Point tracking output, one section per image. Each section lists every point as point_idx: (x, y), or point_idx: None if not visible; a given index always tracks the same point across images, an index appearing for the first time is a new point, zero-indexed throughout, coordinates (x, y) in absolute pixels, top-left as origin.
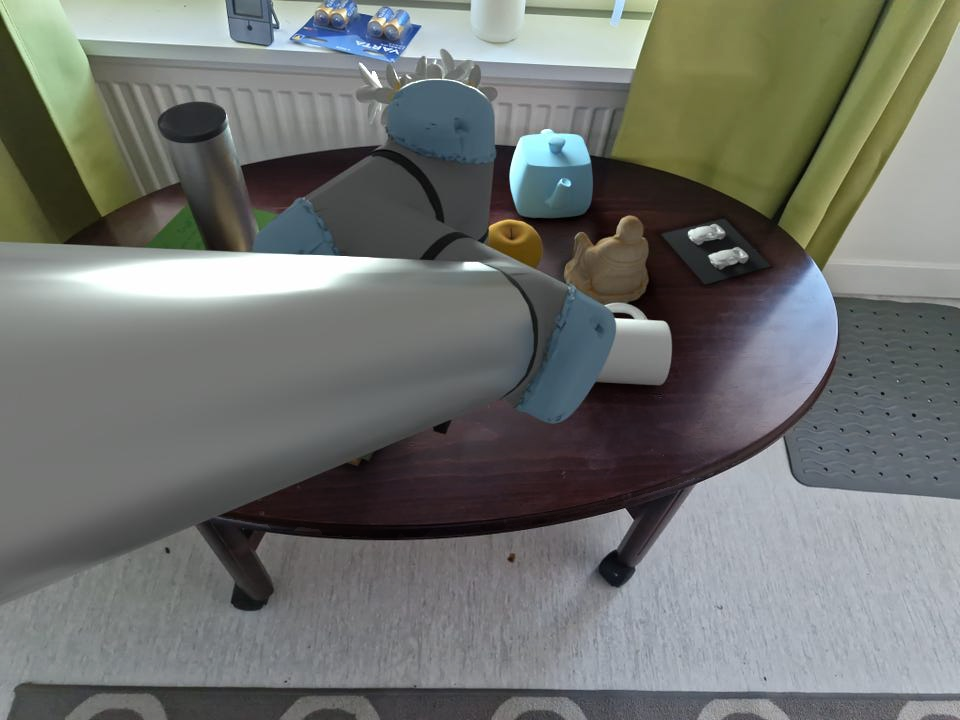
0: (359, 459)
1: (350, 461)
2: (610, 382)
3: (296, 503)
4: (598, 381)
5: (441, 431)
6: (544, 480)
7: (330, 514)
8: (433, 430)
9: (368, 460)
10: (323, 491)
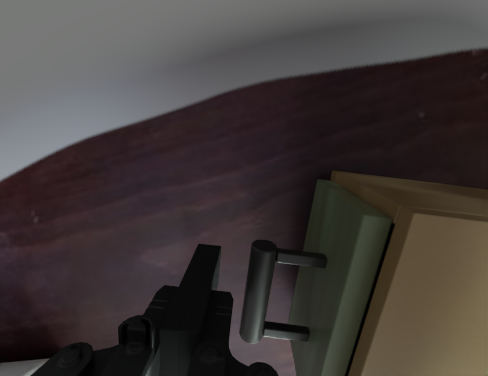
0: (333, 179)
1: (347, 173)
2: (2, 364)
3: (419, 83)
4: (15, 364)
5: (204, 247)
6: (56, 202)
7: (357, 75)
8: (220, 247)
9: (318, 179)
10: (378, 115)
